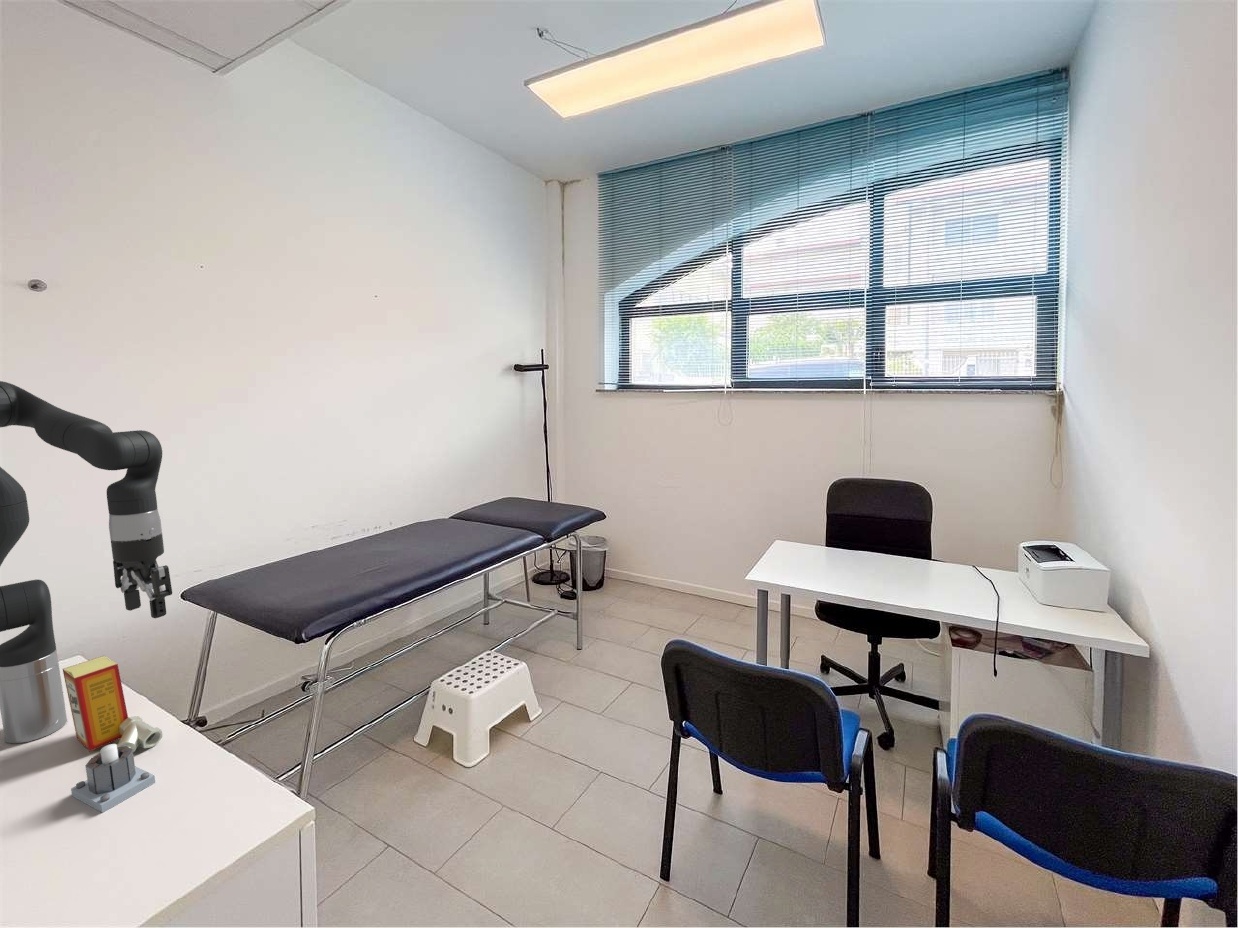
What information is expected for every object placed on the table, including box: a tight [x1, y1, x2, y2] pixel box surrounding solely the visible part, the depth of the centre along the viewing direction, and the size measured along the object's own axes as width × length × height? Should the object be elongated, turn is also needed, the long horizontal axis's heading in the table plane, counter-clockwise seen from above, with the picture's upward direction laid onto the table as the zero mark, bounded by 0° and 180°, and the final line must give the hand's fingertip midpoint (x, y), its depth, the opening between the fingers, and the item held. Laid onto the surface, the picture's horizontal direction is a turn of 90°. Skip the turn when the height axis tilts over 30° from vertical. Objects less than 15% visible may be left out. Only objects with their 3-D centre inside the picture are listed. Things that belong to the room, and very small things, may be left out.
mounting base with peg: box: [70, 743, 156, 814], centre depth 100 cm, size 10×8×8 cm
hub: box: [85, 746, 136, 795], centre depth 100 cm, size 6×6×5 cm
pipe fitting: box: [116, 715, 163, 753], centre depth 112 cm, size 8×4×7 cm
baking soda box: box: [62, 655, 129, 752], centre depth 114 cm, size 10×6×16 cm
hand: (146, 612), depth 107 cm, fingers open, 8 cm apart
